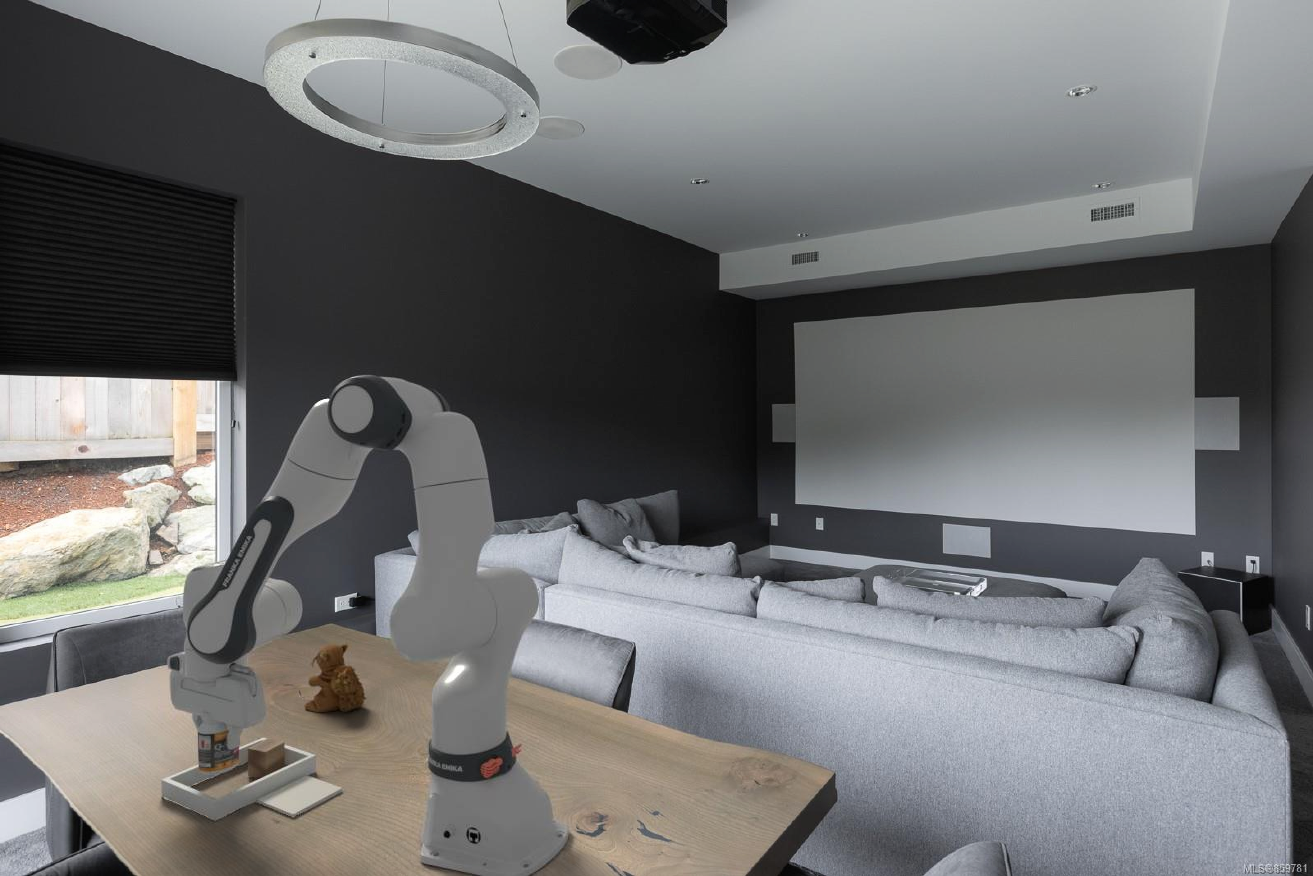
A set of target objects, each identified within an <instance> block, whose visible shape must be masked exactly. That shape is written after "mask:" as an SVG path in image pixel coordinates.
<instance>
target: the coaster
mask: <svg viewBox="0 0 1313 876" xmlns="http://www.w3.org/2000/svg"><path fill="white" fill-rule="evenodd" d="M342 792H343V787H341V786H338V785H336V784H332V783H330V782H327V781H324V780H321V779H319V778H316V777H313V776H311V775H309V776H308V775H306V776H304V777H302V778H300V779H298V780H296V781H294V782H292V783H290V784H288V785H286V786H284V787H282V788H280V789H278V790H276V791H274V792H272V793H270V794H268V795H266V796H264V797H261V798H259V799H257V801H256V804H257V803H259V804H258V805H260V804H262V805H264V806H263V807H265V806H268V807H271V808H273V809H274V810H273V811H275V810H278V811H279V812H278V813H280V812H281V813H280V814H282V813H283V814H282V815H284V814H286V815H285V816H287V815H288V816H287V817H289V816H292V817H294V818H296V817H297V816H296V815H298V816H300V815H302V814H303V812H304V813H305V812H307V811H308V810H310V809H313V808H315V807H316V806H318V805H320V804H322V803H324V802H326V801H327V800H330V799H332V798H333V797H334V796H335V797H336V795H339V794H341V793H342ZM262 805H261V806H262ZM301 813H302V814H301ZM299 814H300V815H299ZM295 816H296V817H295ZM292 817H291V818H292Z"/></svg>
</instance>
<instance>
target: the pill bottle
mask: <svg viewBox="0 0 1313 876" xmlns="http://www.w3.org/2000/svg"><path fill="white" fill-rule="evenodd" d="M201 719H202V720H203V723H202V724H201V725H200V726H199V728H198V730H197V755H198V756H197V757H198V762H197V763H198V764H199V772H200V773H201V774H204V775H217V774H220V775H222V774H221V773H223V774H225V773H228V772H229V771H231V770H234V769H236V768H237V767H236V766H237V765H238V763H239V747H240V746H239V747H237V748H234V749H232V750H231V749H228V748H225V747H224V738H225V737H227V736H228V732H229V729H227V724H226V723H222V722H219V721H216V720H213V717H212V714H210V713H207V712H203V711H202V712H201ZM198 764H197V765H198ZM235 767H236V768H235ZM233 768H234V769H233Z"/></svg>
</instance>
